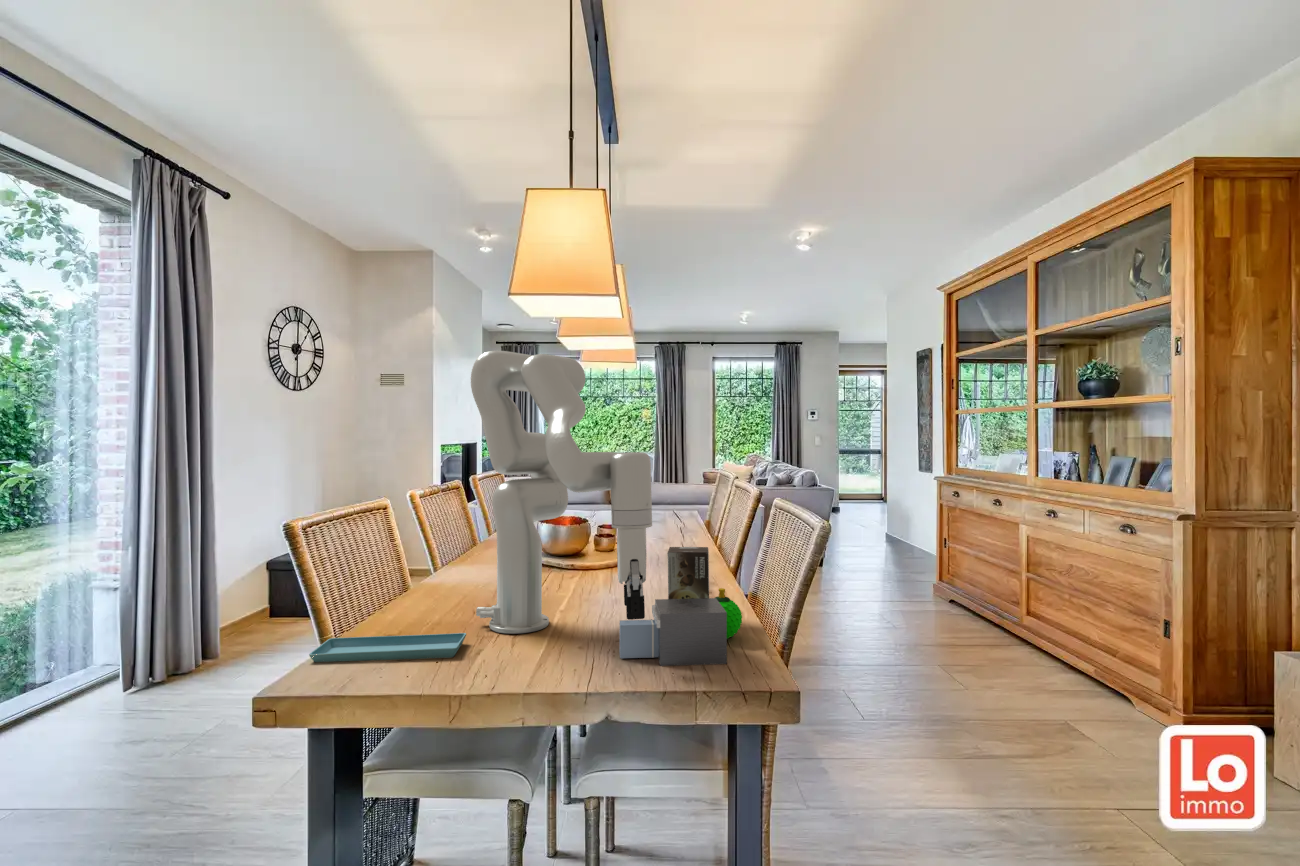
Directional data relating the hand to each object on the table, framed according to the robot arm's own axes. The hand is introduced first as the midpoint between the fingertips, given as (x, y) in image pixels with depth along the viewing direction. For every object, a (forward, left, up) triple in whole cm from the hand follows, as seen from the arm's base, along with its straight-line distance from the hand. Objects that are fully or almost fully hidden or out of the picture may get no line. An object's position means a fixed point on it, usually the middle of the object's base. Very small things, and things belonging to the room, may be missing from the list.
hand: (634, 611), depth 113 cm
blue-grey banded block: (+4, +1, -9) cm, 10 cm away
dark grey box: (+10, +1, -9) cm, 13 cm away
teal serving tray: (-46, +7, -9) cm, 47 cm away
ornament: (+18, +10, -9) cm, 22 cm away
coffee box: (+13, +22, -9) cm, 27 cm away
